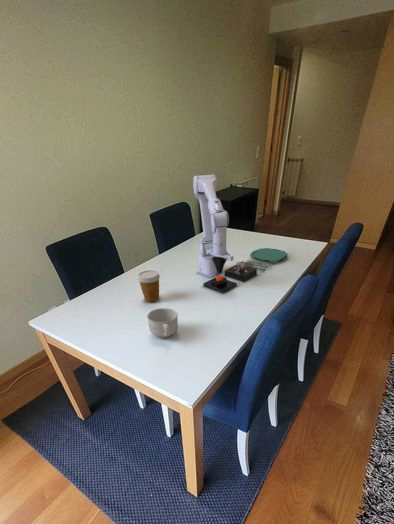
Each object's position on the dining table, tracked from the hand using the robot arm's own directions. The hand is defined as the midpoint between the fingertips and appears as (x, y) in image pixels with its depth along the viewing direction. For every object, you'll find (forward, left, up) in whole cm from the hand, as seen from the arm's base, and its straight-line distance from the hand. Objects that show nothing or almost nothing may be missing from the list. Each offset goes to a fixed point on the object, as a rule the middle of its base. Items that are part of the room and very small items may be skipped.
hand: (219, 272), depth 134 cm
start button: (0, 0, -4) cm, 4 cm away
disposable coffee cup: (-15, -29, -7) cm, 33 cm away
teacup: (+11, -44, -7) cm, 46 cm away
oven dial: (0, +16, -4) cm, 16 cm away
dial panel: (0, +16, -7) cm, 17 cm away
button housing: (0, 0, -7) cm, 7 cm away
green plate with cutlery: (-2, +40, -7) cm, 41 cm away
